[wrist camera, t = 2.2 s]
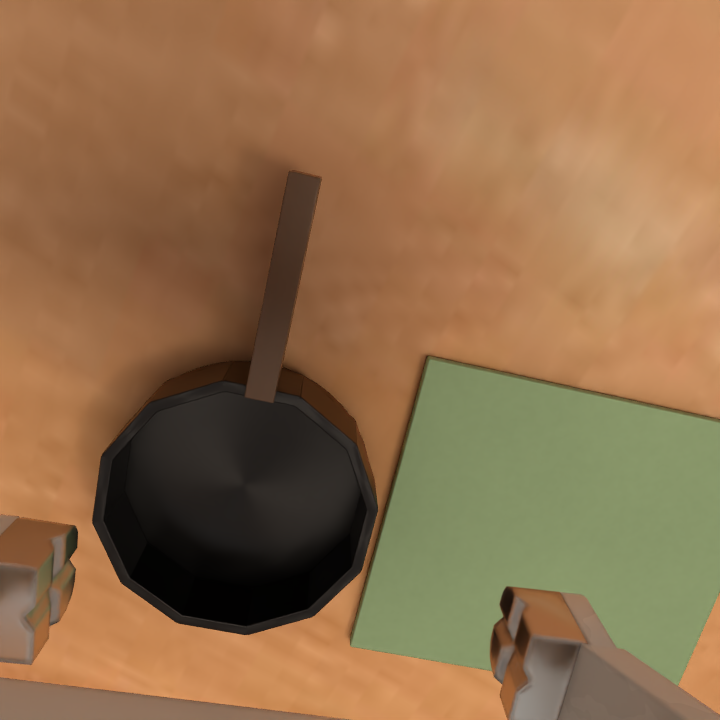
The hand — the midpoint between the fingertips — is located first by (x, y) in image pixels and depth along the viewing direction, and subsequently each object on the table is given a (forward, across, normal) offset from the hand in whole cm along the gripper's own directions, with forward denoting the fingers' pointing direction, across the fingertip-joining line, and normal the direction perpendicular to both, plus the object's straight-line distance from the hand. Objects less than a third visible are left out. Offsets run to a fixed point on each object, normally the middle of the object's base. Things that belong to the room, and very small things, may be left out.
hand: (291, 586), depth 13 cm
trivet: (+19, -14, +8) cm, 24 cm away
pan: (+19, +2, +3) cm, 19 cm away
